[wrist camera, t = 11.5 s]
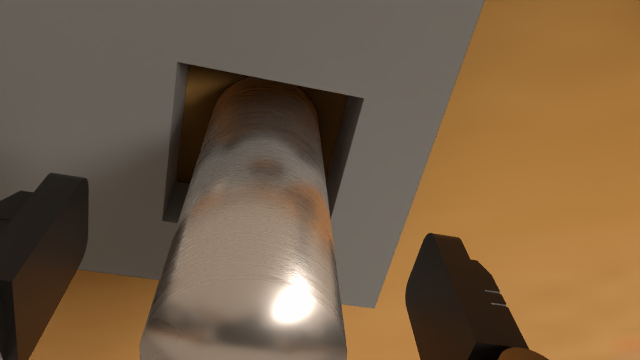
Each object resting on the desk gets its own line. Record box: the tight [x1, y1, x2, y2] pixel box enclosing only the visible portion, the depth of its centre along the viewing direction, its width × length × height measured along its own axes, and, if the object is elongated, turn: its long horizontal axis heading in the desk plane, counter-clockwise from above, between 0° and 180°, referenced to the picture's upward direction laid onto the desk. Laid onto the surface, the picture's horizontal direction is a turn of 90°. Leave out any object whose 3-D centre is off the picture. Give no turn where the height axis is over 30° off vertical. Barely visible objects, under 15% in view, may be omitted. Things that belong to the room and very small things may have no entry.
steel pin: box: [140, 77, 347, 360], centre depth 14 cm, size 4×4×10 cm
